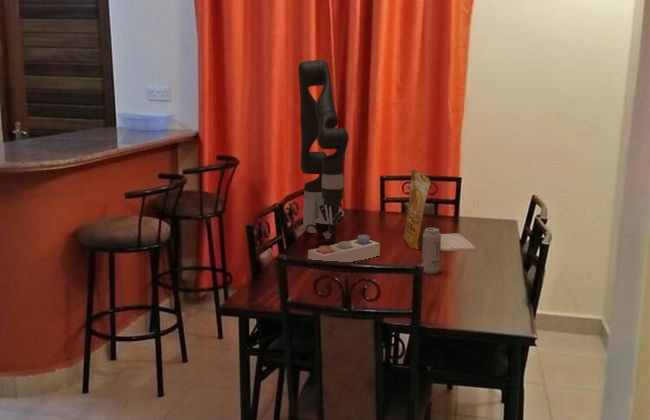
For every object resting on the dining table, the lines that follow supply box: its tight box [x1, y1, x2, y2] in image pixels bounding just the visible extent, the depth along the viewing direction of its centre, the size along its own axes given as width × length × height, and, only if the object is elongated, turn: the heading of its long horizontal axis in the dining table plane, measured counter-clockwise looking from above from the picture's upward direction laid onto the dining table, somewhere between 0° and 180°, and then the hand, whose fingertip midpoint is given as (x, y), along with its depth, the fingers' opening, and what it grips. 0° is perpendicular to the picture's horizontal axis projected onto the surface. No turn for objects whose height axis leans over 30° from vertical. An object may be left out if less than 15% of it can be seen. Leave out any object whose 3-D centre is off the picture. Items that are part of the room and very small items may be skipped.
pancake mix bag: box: [403, 169, 432, 250], centre depth 262 cm, size 7×19×28 cm, turn 7°
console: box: [307, 239, 381, 262], centre depth 244 cm, size 9×26×5 cm, turn 128°
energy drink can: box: [421, 227, 442, 275], centre depth 231 cm, size 6×6×15 cm
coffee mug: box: [305, 218, 339, 246], centre depth 261 cm, size 12×9×10 cm
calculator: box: [440, 232, 476, 252], centre depth 266 cm, size 13×20×2 cm, turn 8°
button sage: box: [337, 240, 351, 250], centre depth 244 cm, size 4×4×3 cm
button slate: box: [357, 234, 370, 245], centre depth 249 cm, size 4×4×3 cm
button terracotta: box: [318, 245, 331, 254], centre depth 238 cm, size 4×4×3 cm
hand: (332, 233), depth 239 cm, fingers closed
